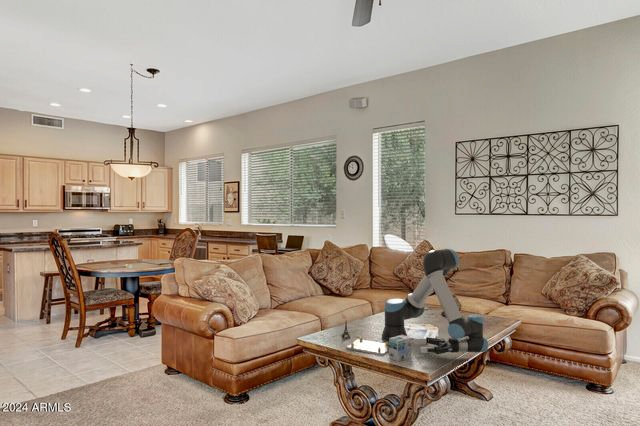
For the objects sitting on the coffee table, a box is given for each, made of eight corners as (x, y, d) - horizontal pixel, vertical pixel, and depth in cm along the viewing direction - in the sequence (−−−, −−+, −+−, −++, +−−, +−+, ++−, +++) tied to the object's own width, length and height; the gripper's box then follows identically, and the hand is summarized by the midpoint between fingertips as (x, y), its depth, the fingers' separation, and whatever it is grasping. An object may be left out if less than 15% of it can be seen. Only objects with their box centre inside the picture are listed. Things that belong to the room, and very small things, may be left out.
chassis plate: (357, 341, 258) (357, 335, 258) (393, 346, 248) (393, 341, 247) (346, 349, 244) (346, 343, 244) (383, 355, 234) (383, 349, 233)
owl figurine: (435, 314, 319) (435, 291, 319) (446, 312, 326) (446, 289, 326) (456, 320, 304) (456, 295, 304) (466, 317, 311) (466, 293, 311)
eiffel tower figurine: (361, 338, 265) (361, 316, 265) (351, 342, 257) (351, 320, 257) (342, 333, 275) (342, 312, 275) (332, 337, 267) (331, 315, 267)
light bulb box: (397, 361, 224) (397, 341, 224) (388, 358, 230) (388, 337, 229) (412, 357, 231) (411, 337, 230) (402, 354, 236) (402, 334, 236)
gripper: (465, 360, 218) (423, 361, 218) (449, 344, 243) (411, 344, 243) (465, 345, 218) (423, 346, 217) (449, 331, 243) (411, 331, 242)
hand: (417, 345), depth 230 cm, fingers open, 13 cm apart
